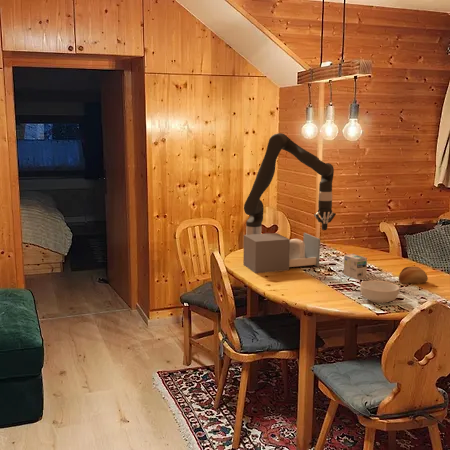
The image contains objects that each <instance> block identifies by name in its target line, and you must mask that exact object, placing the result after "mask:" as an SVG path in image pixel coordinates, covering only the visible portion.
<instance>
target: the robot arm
mask: <svg viewBox="0 0 450 450" xmlns="http://www.w3.org/2000/svg"><path fill="white" fill-rule="evenodd" d="M266 146H267V147H266V151H265V154H264V157H263V159H262V162H261V164H260V166H259V168H258V171H257V173H256V177H255V179H254V182H253V185H252V187H251V190H250V192H249V194H248V196H247V198H246V200H245V202H244V205H243V211H244V213H245V214H246V215H247V216H249V217H248V219H246V223H245V224H246V225H245V235H252V234H262V228H263V227H262V223H263V221H264V210H265V209H264V204H263V201H262V200H261V197H262V195H263V194H264V193H265V192H266V190H267V189H268V188H269V186H270V185H271V184H272V181H273V178H274V175H275V173H276V166H277V165H276V163H277V159H278V156H279V155H280V153H281V151H282V150H284V151H286V152H288V153H290V154H291V155H293V156H294V158H296V159H297V161H299V162H300V163H302V164H303V165H305V166H307V167H308V168H310V169H312V170H313V171H314V172H316V173H317V175H320V178H321V179H320V182H319V186H318V190H319V191H318V206H317V212H316V213H314V214H313V216H314V217H315V219H316V220H317V222H318V223H320V224H321V229H322V230H323V231H327V230H328V224H329V223H331V222H332V221H333V219H335V216H337V215H336V213H335V212H334V211H333V209H332V208H333V179H334V172H335V169H334V166H333V164H332V163H330V162H329V163H328V162H325V161H322V160H320V158H319V157H318V156H316V155H315V154H314V153H311V152H310V151H308V150H306V149H304V148H303V147H301V146H300V145H298V144H297V143H296V142H295V141H293V140H292V139H291V138H290V137H288V136H287V135H286V134H284V133H281V132H279V133H278V132H277V133H274V134H272V135H271V137H269V139H268V143H267V145H266Z"/></svg>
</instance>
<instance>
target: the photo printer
mask: <svg viewBox="0 0 450 450" xmlns="http://www.w3.org/2000/svg"><path fill="white" fill-rule="evenodd" d="M300 258H305V243H304V242H303V240H302V239H299V238H291V239H290V253H289V259H300Z"/></svg>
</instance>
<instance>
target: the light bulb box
mask: <svg viewBox="0 0 450 450" xmlns="http://www.w3.org/2000/svg"><path fill="white" fill-rule="evenodd" d="M343 256H344V257H343V275H345V276H347V277H350V278H353V279H355V280H360V279H367V272H368V271H367V270H368V269H367V268H368V267H367V266H368V257H366V256H363V255H359V254H355V253H347V254H344V255H343Z"/></svg>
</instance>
